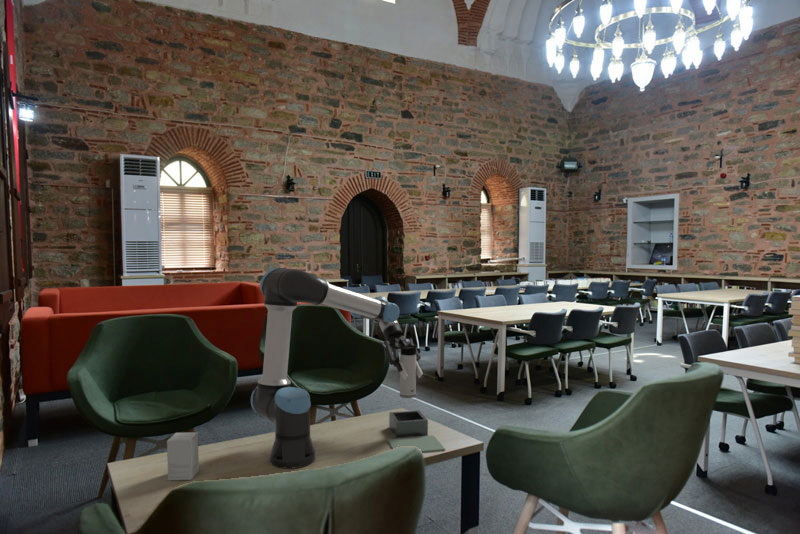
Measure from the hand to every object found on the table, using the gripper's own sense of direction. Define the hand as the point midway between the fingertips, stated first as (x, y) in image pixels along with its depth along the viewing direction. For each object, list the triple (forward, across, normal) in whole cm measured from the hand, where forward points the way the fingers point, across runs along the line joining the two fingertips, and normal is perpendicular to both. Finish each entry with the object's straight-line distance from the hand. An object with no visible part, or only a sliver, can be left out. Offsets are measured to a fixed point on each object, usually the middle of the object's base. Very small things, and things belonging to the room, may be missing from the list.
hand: (413, 376), depth 202 cm
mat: (+23, +6, -9) cm, 25 cm away
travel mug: (+4, 0, -9) cm, 9 cm away
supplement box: (+10, +82, -23) cm, 86 cm away
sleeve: (+13, 0, -18) cm, 23 cm away
